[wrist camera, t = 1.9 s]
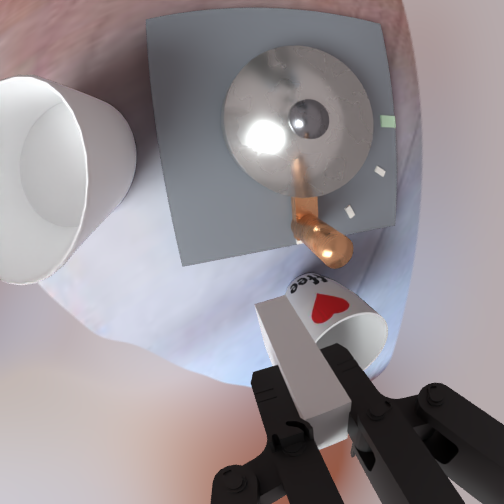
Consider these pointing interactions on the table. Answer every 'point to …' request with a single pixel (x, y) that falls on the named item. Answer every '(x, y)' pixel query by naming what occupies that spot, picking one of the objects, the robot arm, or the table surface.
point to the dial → (300, 135)
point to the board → (211, 137)
